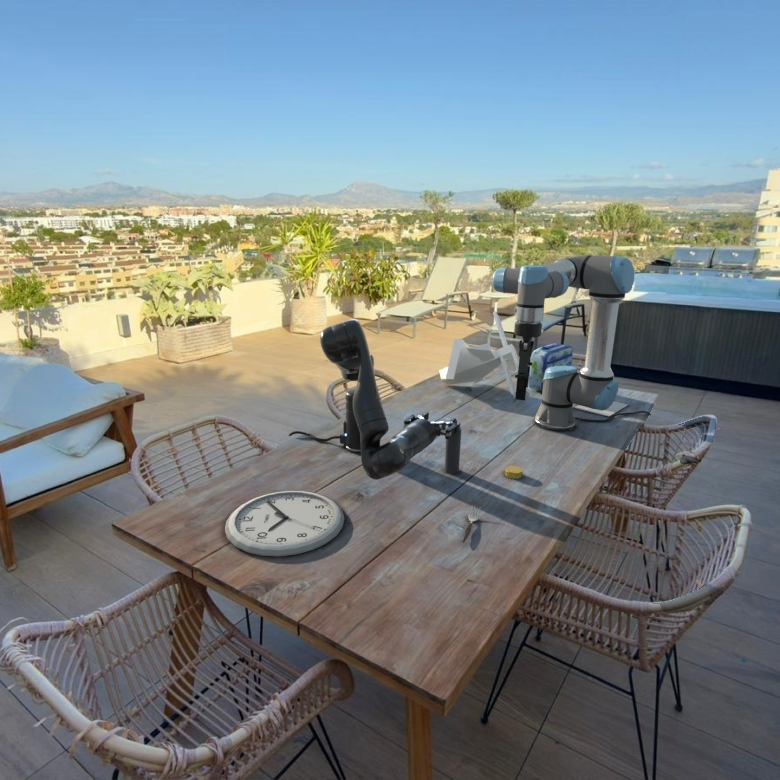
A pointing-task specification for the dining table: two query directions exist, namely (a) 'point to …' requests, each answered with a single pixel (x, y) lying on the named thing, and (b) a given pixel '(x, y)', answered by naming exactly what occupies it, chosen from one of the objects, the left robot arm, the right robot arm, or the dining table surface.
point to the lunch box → (547, 362)
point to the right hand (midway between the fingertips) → (521, 393)
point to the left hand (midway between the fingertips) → (441, 418)
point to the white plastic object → (479, 361)
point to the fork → (472, 519)
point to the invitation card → (608, 412)
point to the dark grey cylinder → (453, 452)
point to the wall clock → (284, 523)
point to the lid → (513, 472)
